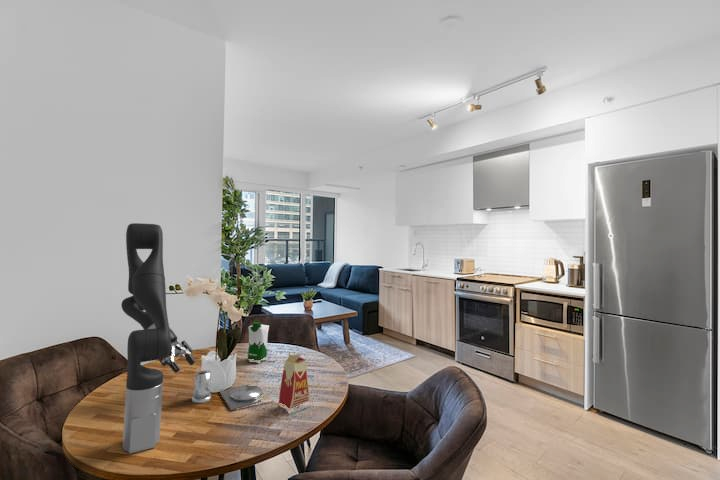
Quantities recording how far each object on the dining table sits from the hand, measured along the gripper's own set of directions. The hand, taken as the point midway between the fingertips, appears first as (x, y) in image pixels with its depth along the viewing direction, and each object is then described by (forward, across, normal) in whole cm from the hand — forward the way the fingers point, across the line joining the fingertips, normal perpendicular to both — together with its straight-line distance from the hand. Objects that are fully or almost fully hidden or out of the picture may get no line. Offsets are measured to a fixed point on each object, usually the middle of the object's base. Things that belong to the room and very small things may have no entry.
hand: (186, 367), depth 130 cm
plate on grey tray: (+24, +6, -8) cm, 26 cm away
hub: (+13, 0, +3) cm, 13 cm away
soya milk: (+13, +46, +3) cm, 48 cm away
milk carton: (+38, +4, -22) cm, 44 cm away
